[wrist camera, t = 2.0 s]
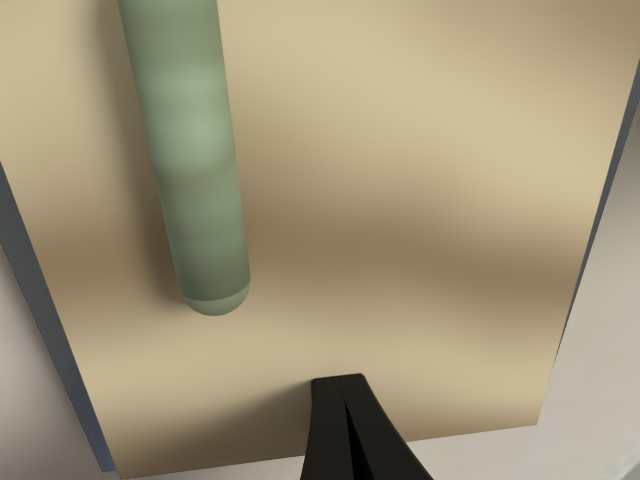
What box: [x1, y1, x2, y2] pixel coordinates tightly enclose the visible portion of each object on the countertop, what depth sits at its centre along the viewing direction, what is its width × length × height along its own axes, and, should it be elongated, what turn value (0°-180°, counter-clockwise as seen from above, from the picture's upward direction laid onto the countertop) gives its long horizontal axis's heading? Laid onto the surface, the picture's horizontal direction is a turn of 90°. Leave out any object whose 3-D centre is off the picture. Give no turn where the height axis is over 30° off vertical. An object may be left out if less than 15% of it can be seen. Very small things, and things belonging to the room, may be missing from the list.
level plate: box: [0, 0, 640, 480], centre depth 10 cm, size 12×12×2 cm
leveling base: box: [0, 59, 640, 472], centre depth 12 cm, size 16×15×2 cm
